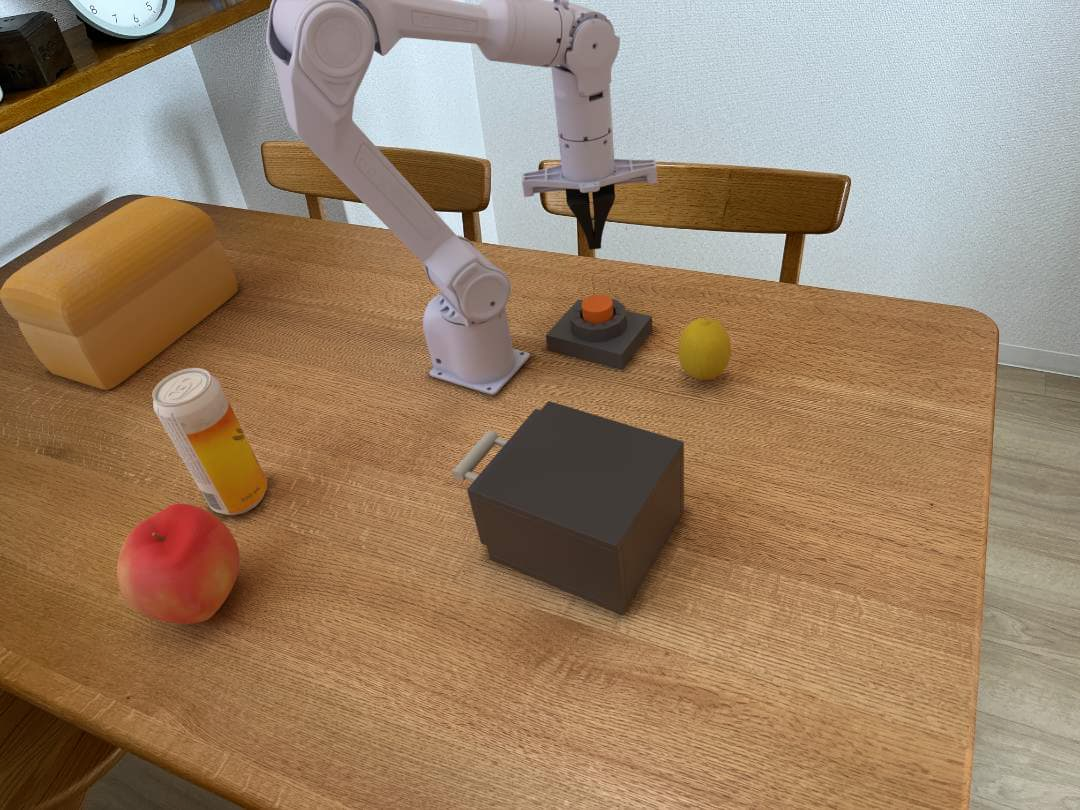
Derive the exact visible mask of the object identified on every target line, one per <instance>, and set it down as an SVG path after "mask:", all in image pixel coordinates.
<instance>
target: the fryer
mask: <svg viewBox="0 0 1080 810" xmlns="http://www.w3.org/2000/svg"><path fill="white" fill-rule="evenodd" d="M539 410H540V411H539V413H538V414H537V415H536V416H535V417H534V419H533V420H532V421H531V422H530V423H529V425H528V426H527V427H526V428H525V429H524V430H523V432H522V433H521V434H520V435H519V436H518V438H517V439H516V440H515V441H514V442H513V444H512V445H511V446H510V447H509V448H508V449H507V451H506V452H505V453H504V454H503V455H502V457H501V458H500V459H499V460H498V461H497V463H496V464H495V465H494V466H493V467H492V468H491V470H490V471H489V472H488V473H487V474H486V476H485V477H484V478H483V479H482V480H481V482H480V483H479V484H478V485H477V486H476V488H475V489H474V490H473V495H474V499H475V503H476V507H477V511H478V515H479V518H480V522H481V526H482V530H483V534H484V538H485V542H486V545H485V546H486V550H487V553H488V557H489V560H492V561H494V562H496V563H499V564H500V565H503V566H506V567H507V568H510V569H512V570H515V571H517V572H519V573H522V574H524V575H527V576H528V577H532V578H533V579H536V580H539V581H541V582H542V583H545V584H548V585H550V586H552V587H555V588H557V589H560V590H562V591H565V592H566V593H569V594H571V595H574V596H576V597H579V598H581V599H583V600H585V601H588V602H590V603H593V604H595V605H597V606H599V607H602V608H604V609H606V610H608V611H611V612H614V613H616V614H619V615H620V616H624V615H625V613H626V611H627V610H628V608H629V607H630V605H631V603H632V601H633V600H634V598H635V596H636V594H637V593H638V591H639V589H640V588H641V586H642V584H643V583H644V581H645V579H646V578H647V576H648V574H649V573H650V571H651V569H652V568H653V566H654V564H655V562H656V561H657V559H658V557H659V555H660V554H661V552H662V551H663V549H664V547H665V546H666V544H667V542H668V540H669V538H670V537H671V535H672V534H673V532H674V531H675V528H676V527H677V525H678V523H679V522H680V520H681V518H682V517H683V515H684V513H685V449H684V448H685V442H684V441H682V440H679V439H676V438H672V437H669V436H666V435H664V434H663V435H662V434H659V433H656V432H653V431H649V430H647V429H643V428H639V427H636V426H634V425H630V424H627V423H623V422H620V421H616V420H613V419H611V418H606V417H604V416H600V415H597V414H595V413H590V412H586V411H583V410H581V409H577V408H574V407H570V406H567V405H563V404H560V403H558V402H555V401H550V400H548V401H547V402H546V403H545V404H544V405H543V406H542V408H541V409H539Z"/></svg>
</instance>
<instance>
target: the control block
mask: <svg viewBox="0 0 1080 810" xmlns="http://www.w3.org/2000/svg"><path fill="white" fill-rule="evenodd" d="M611 299H612V302H613V317H612V319H611V320H609V321H606V322H604V323H595V324H593V323H589V322H586V321H585V320H584V319H583V315H582V305H581V304H582V301H583V300H584V299H579V298H578V299H577V300H576V301H575V303H573V304H572V306H571V307H569V309H568V310H567V311H566V312H565V313H564V314H563V315H562V316H561V317H560V319H558V321H556V323H555V324H554V325H553V326H552V327H551V329H549V331H548V332H546V334H545V339H546V347H547V350H548V351H552V352H556V353H559V354H564V355H566V356H571V357H574V358H578V359H582V360H586V361H589V362H592V363H597V364H600V365H604V366H607V367H612V368H616V369H619V370H624V369H625V367H626V366H627V365H628V364H629V362H630V360H632V358H633V357H634V356H635V354H636V353H637V352H638V351H639V349H640V348H641V347H642V345H643V344H644V343H645V342H646V341H647V339H648V337H650V335H651V334H652V333H653V316H652V315H648V314H643V313H639V312H636V311H632V310H626V305H624V303H622V302H620V301H619V300H618V299H615V298H611Z"/></svg>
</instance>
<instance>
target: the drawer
mask: <svg viewBox="0 0 1080 810" xmlns="http://www.w3.org/2000/svg"><path fill="white" fill-rule="evenodd" d="M540 410H541V409H538V408H535V409H534V410H533V411H532V412H531V413H530V414H529V415H528V416H527V418H526V419H525V420H524V421H523V422H522V423H521V425H520V426H519V427H518V428H517V429H516V430H515V432H514V433H513V434H512V435H511V436H510V437H509V439H508V440H507V439H505V438H503V437H499V434H497V432H495V431H494V430H491V429H490V430H487V431H486V432H485V433H484V435H482V436H481V438H480V439H479V440H478V441H476V443H475V445H474V446H473V447H472V448H471V449H470V450H469V451H468V453H466V455H465V456H464V457H463V458H462V459H461V460H460V462H459V463H458V464H457V465H456V466H455V467H454V468H453V469H452V471H451V472H450V473H451V477H452V478H453V479H454V480H455V481H456V482H459V483H463V482H465V481H468V482H471V483H470V484H469V486H468V487H467V489H466V491H467V495H468V499H469V503H470V506H471V507H470V508H471V511H472V514H473V518H474V522H475V526H476V530H477V534H478V538H479V541H480V544H481V545H484V546H486V542H485V538H484V534H483V530H482V526H481V522H480V518H479V515H478V511H477V507H476V503H475V499H474V495H473V490H474V489H475V488H476V486H477V485H478V484H479V483H480V482H481V480H482V479H483V478H484V477H485V476H486V474H487V473H488V472H489V471H490V470H491V468H492V467H493V466H494V465H495V464H496V463H497V461H498V460H499V459H500V458H501V457H502V455H503V454H504V453H505V452H506V451H507V449H508V448H509V447H510V446H511V445H512V444H513V442H514V441H515V440H516V439H517V438H518V436H519V435H520V434H521V433H522V432H523V430H524V429H525V428H526V427H527V426H528V425H529V423H530V422H531V421H532V420H533V419H534V417H535V416H536V415H537V414H538V413H539V411H540ZM495 446H496V447H500V450H499V451H498V452H497V453H496V454H495V455H494V457H492V459H491V460H490V461H489V462H488V463H487V465H486V466H485V467H484V468H483V469H482V471H481V472H480V473H479V474H477V473H473V471H474V470H475V469H476V467H478V465H479V464H480V463H481V462H482V460H483V459H484V458H485V457H486V456H487V455H488V454H489V452H491V450H492V449H493V448H494V447H495Z"/></svg>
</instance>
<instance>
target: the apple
mask: <svg viewBox="0 0 1080 810" xmlns="http://www.w3.org/2000/svg"><path fill="white" fill-rule="evenodd" d="M239 549H240V548H239V546H238V543H237V540H236V538H235V536H234V534H233V533H232V531H231V530H230V528H228V526H227V525H226V524H225V523H224V522H223V521H222V520H221V519H220V518H218V517H217V516H216V515H214V514H213V513H211V512H210V511H208V510H206V509H204V508H201V507H199V506H196V505H192V504H187V503H174V504H171V505H169V506H167V507H165V508H163V509H162V510H160V511H158V512H156V513H155V514H154V515H151V516H150V517H148V518H146V519H144V520H142V521H140V522H139V523H137V524H136V525H135V527H134V528H132V530H131V531H129V533H128V535H127V536H126V538H125V540H124V541H123V543H122V545H121V548H120V551H119V554H118V558H117V565H116V576H117V584H118V587H119V590H120V593H121V595H122V597H123V598H124V600H125V601H126V602H127V604H129V605H130V607H132V608H133V609H134V610H135V611H137V612H139V613H140V614H142V615H144V616H146V617H148V618H151V619H152V620H153V619H154V620H157V621H161V622H166V623H170V624H179V625H187V624H188V625H192V624H200V623H202V622H205V621H207V620H209V619H210V618H212V617H213V616H214V615H215V614H216V613H217V612H218V611H219V609H220V608H221V607H222V605H223V604H224V603H225V601H226V600H227V598H228V596H229V595H230V593H231V592H232V589H233V587H234V585H235V583H236V580H237V577H238V574H239V569H240V550H239Z"/></svg>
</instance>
